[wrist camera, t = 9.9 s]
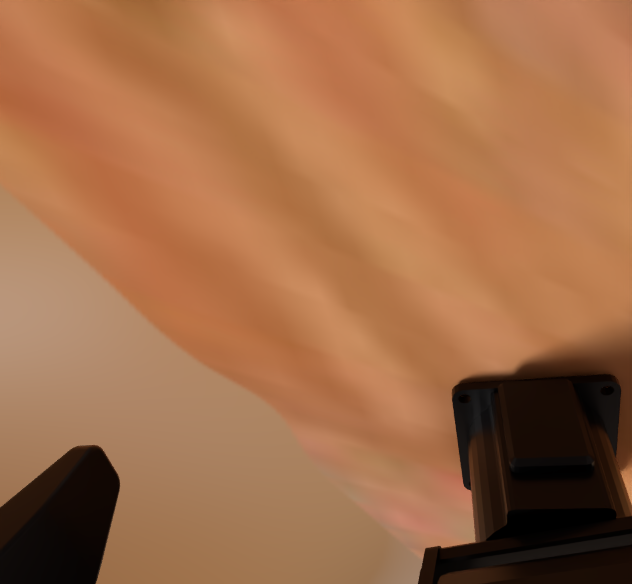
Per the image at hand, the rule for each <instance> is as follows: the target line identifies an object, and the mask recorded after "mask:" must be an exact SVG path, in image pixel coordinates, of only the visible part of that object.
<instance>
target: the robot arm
mask: <svg viewBox="0 0 632 584" xmlns="http://www.w3.org/2000/svg"><path fill="white" fill-rule="evenodd" d="M605 386H609V387H608V388H603V387H605ZM463 394H465V395H468V396H465V397H464V396H460V395H463ZM620 397H621V387H620V384H619V382H618V379H617V378H616V377H615V376H612V375H607V374H603V375H587V376H571V377H556V378H540V379H524V380H509V381H493V382H477V383H462V384H458V385H456V386H455V387H454V388H453V389H452V402H453V409H454V417H455V424H456V432H457V439H458V447H459V454H460V462H461V469H462V477H463V484H464V487H465V488H467V489H469V490H471V492H472V504H473V516H474V528H475V540H476V542H475V543H469V544H463V545H457V546H451V547H445V548H441V547H440V546H436V547H430V548H426V549H425V553H424V558H423V563H422V568H421V571H420V576H419V581H418V584H632V505H631V502H630V499H629V496H628V493H627V490H626V487H625V484H624V481H623V478H622V475H621V472H620V469H619V466H618V463H617V460H616V450H617V437H618V423H619V410H620ZM119 489H120V480H119V476H118V474H117V472H116V471H115V469H114V467H113V466H112V464H111V462H110V461H109V459H108V457H107V456H106V454H105V452H104V451H103V449H102V448H101V447H99V446H97V445H86V446H77V447H74V448H72V449H71V450H69V451H68V452H67V453H66V454H65V455H63V456H62V457H61V458H60V459H58V460H57V461H56V462H55V463H54V464H52V465H51V466H50V467H49V468H48V469H46V470H45V471H44V472H43V473H42V474H41V475H39V476H38V477H37V478H35V479H34V480H33V481H32V482H31V483H29V484H28V485H27V486H26V487H25V488H23V489H22V490H21V491H20V492H19V493H17V494H16V495H15V496H14V497H12V498H11V499H10V500H9V501H8V502H6V503H5V504H4V505H3V506H2V507H0V584H96V581H97V578H98V574H99V570H100V567H101V563H102V559H103V555H104V551H105V547H106V543H107V539H108V535H109V530H110V527H111V522H112V519H113V514H114V511H115V506H116V502H117V498H118V494H119Z"/></svg>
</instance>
